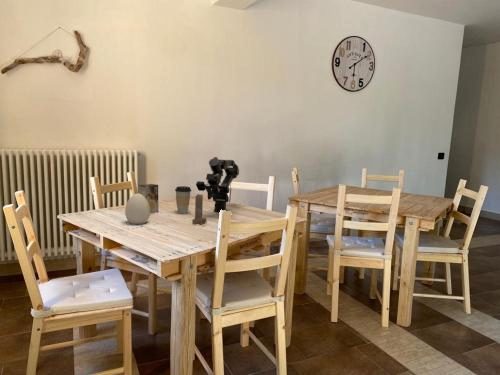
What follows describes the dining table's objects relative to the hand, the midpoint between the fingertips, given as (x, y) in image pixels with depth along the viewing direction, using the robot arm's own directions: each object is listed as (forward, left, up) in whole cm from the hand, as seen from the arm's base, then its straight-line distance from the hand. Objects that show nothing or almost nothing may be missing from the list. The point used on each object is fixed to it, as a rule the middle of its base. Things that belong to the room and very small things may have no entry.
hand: (208, 199), depth 209 cm
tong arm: (+11, +6, -8) cm, 15 cm away
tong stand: (+11, +6, -11) cm, 16 cm away
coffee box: (+20, -31, -11) cm, 38 cm away
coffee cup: (+4, -20, -11) cm, 23 cm away
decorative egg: (+36, -13, -11) cm, 39 cm away
